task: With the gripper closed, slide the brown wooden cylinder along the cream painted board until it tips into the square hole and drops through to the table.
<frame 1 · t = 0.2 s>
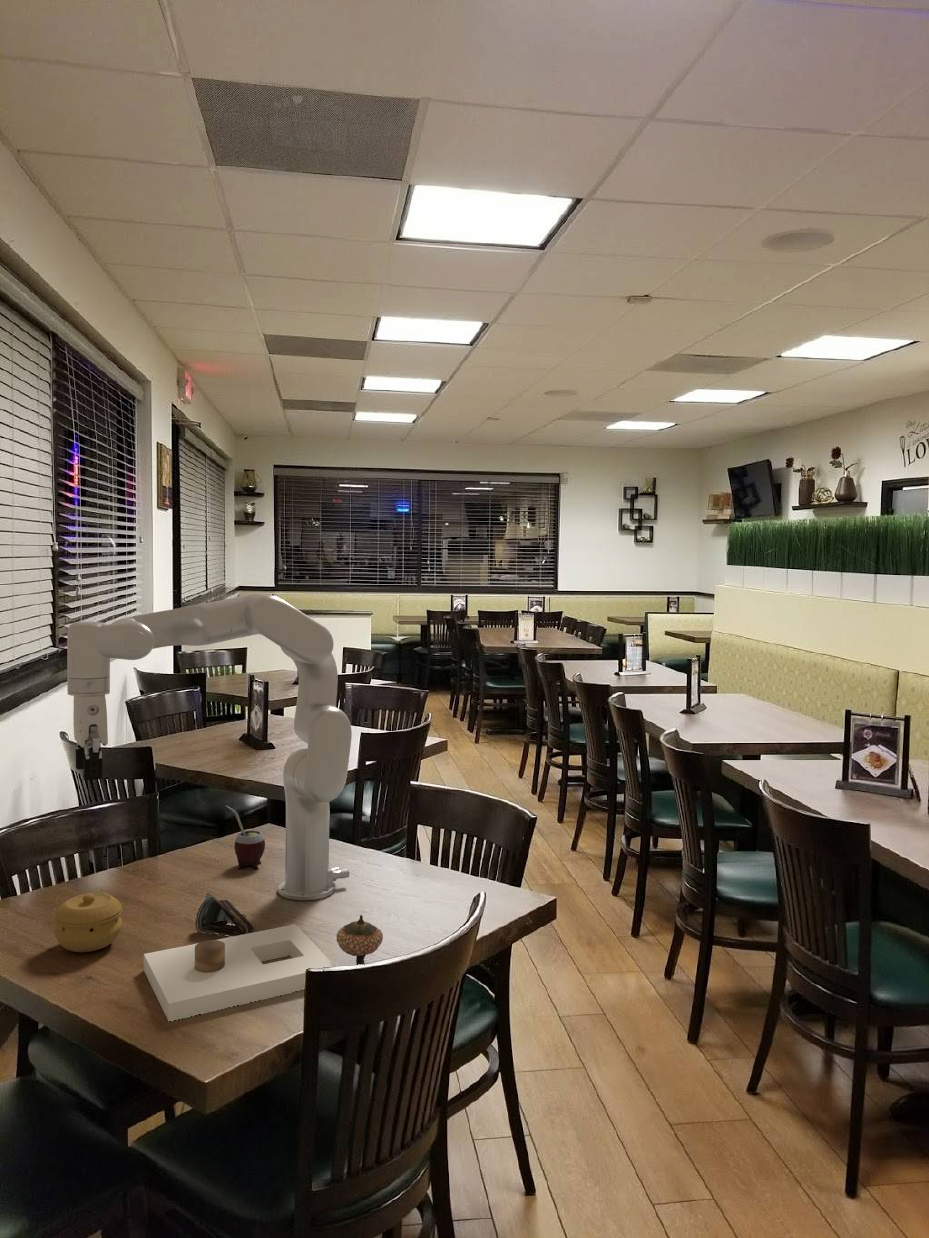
hand: (88, 773, 171), 31 cm above the table, tool pointing down, fingers open, 9 cm apart
pot: (89, 947, 166), on the table
mate gourd: (247, 867, 210), on the table
acorn: (359, 969, 159), on the table
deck: (238, 976, 155), on the table
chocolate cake: (231, 931, 175), on the table
brown wooden cylinder: (209, 965, 152), point 3 cm above the table, touching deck
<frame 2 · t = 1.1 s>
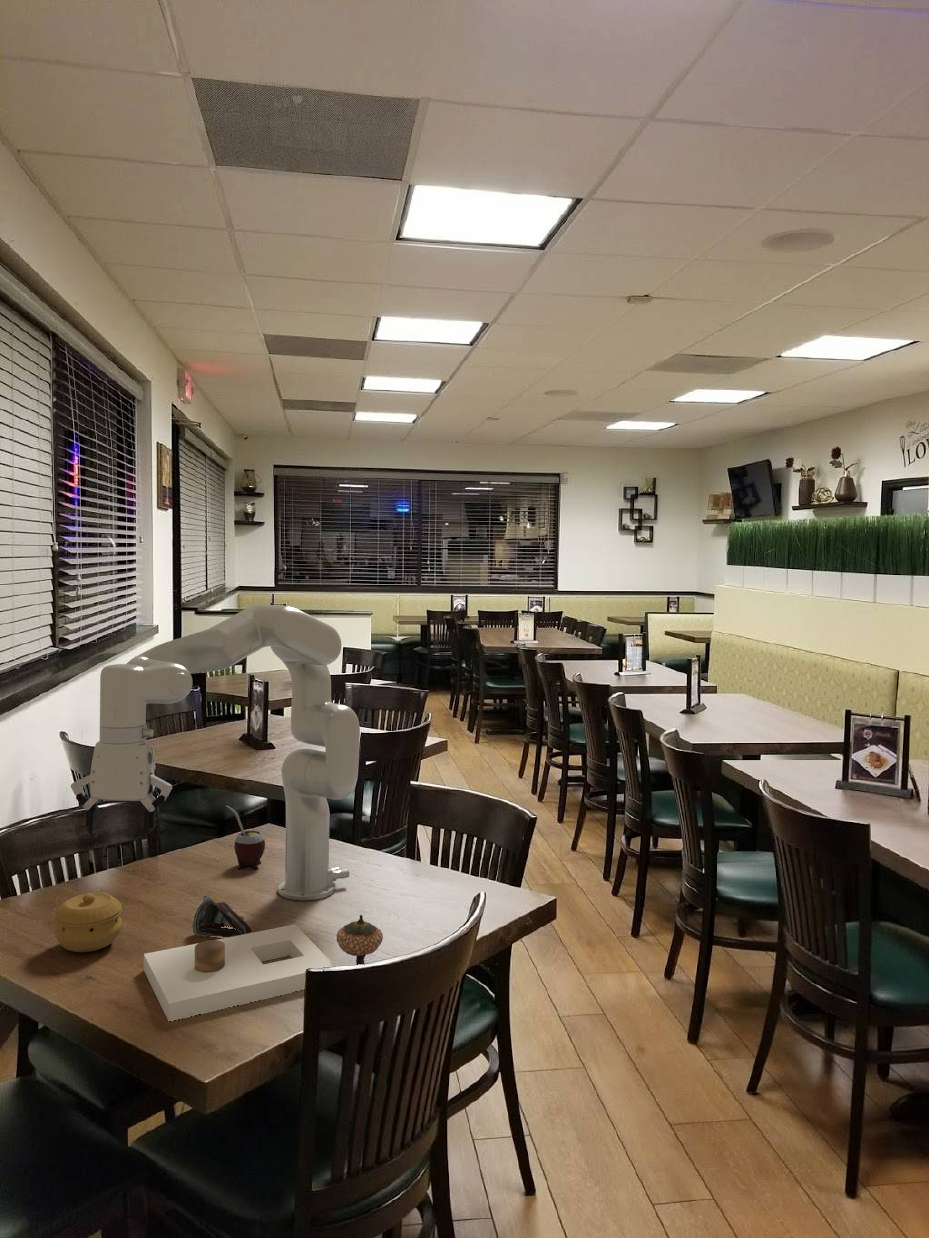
hand: (121, 831, 155), 25 cm above the table, tool pointing down, fingers open, 9 cm apart
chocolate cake: (228, 933, 174), on the table
everything else where it was.
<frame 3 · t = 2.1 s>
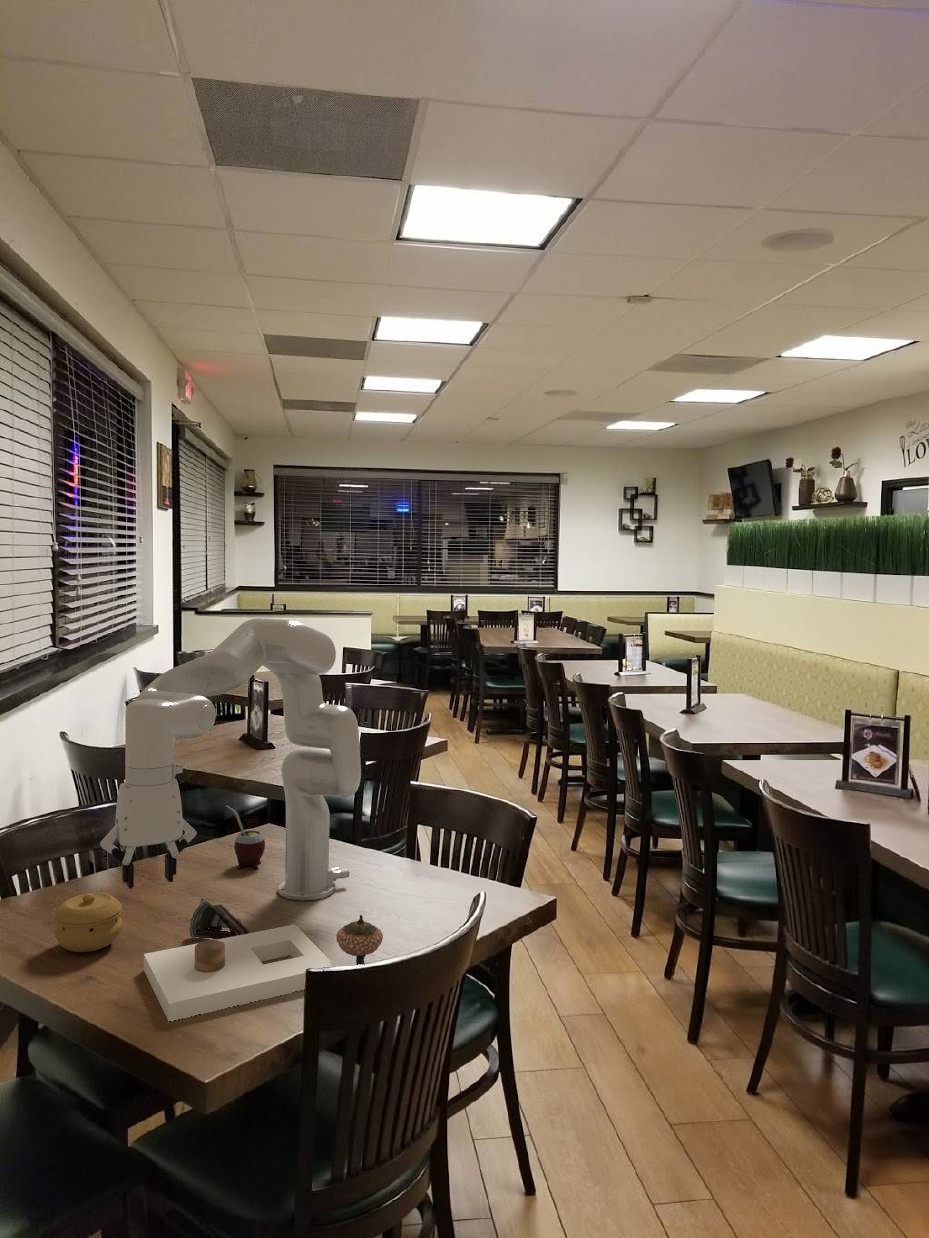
hand: (149, 881, 146), 20 cm above the table, tool pointing down, fingers open, 5 cm apart
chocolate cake: (226, 936, 172), on the table
everything else where it was.
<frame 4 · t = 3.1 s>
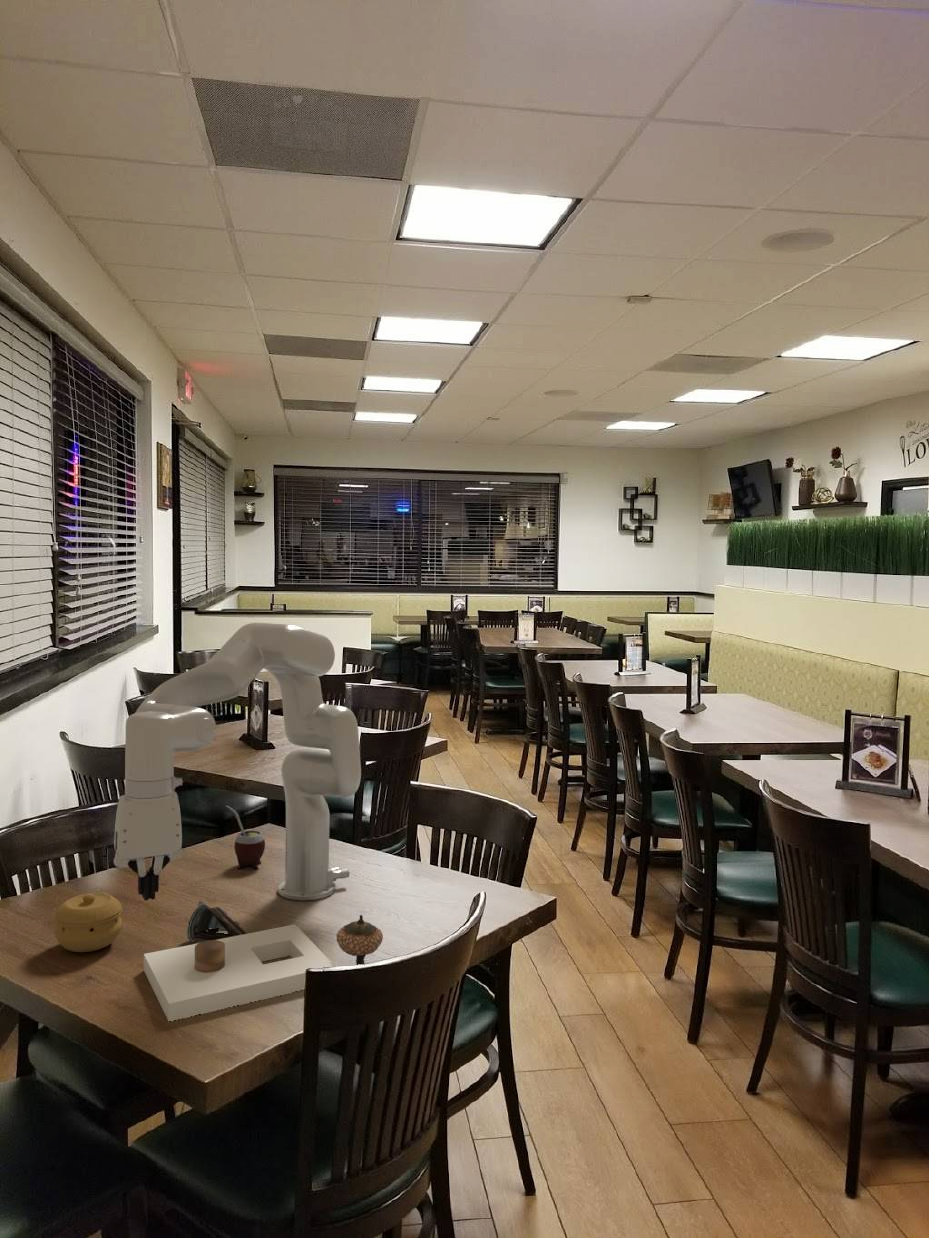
hand: (148, 896, 146), 17 cm above the table, tool pointing down, fingers closed
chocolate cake: (224, 939, 171), on the table
everything else where it was.
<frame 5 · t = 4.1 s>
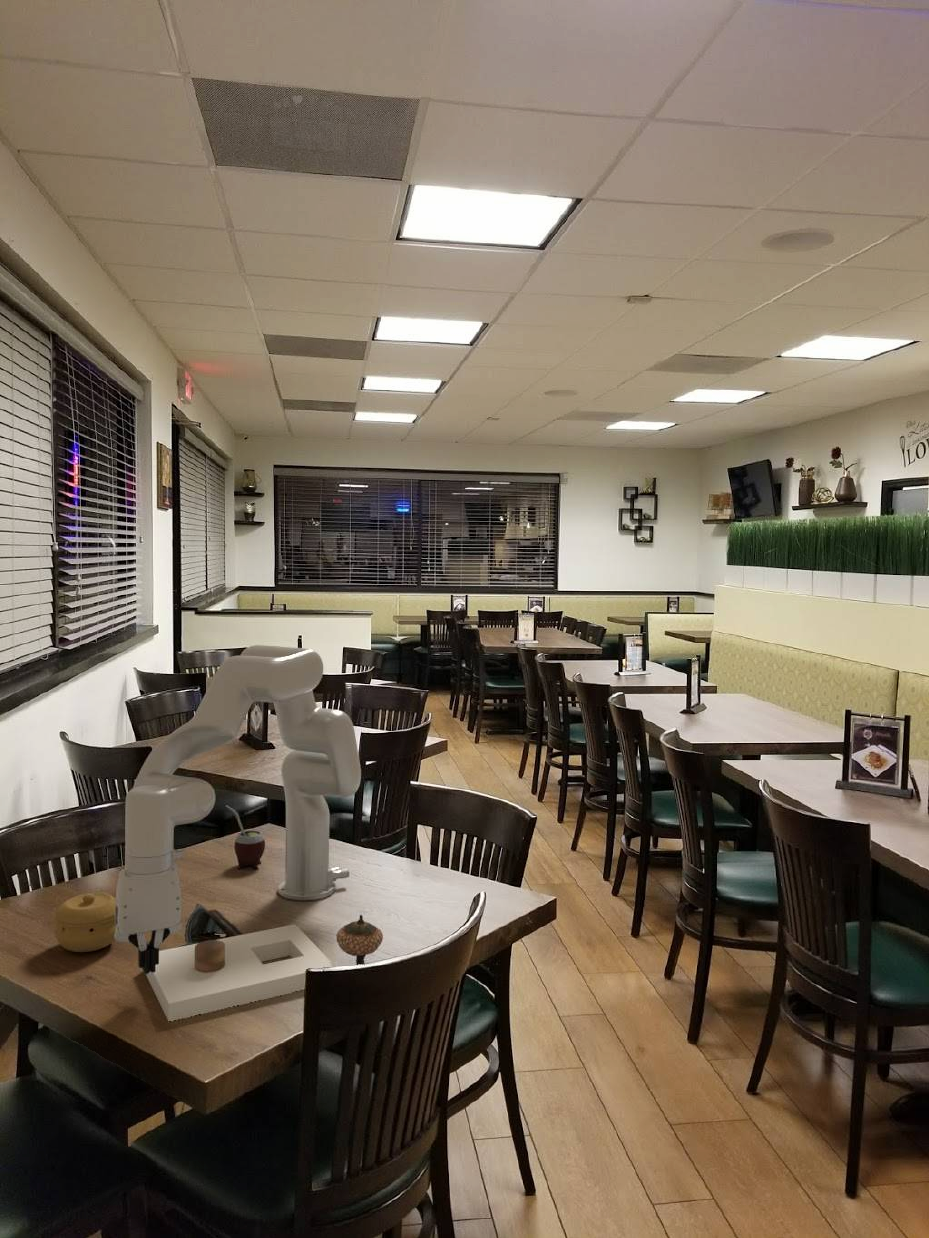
hand: (148, 969, 147), 5 cm above the table, tool pointing down, fingers closed
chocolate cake: (221, 941, 170), on the table
everything else where it was.
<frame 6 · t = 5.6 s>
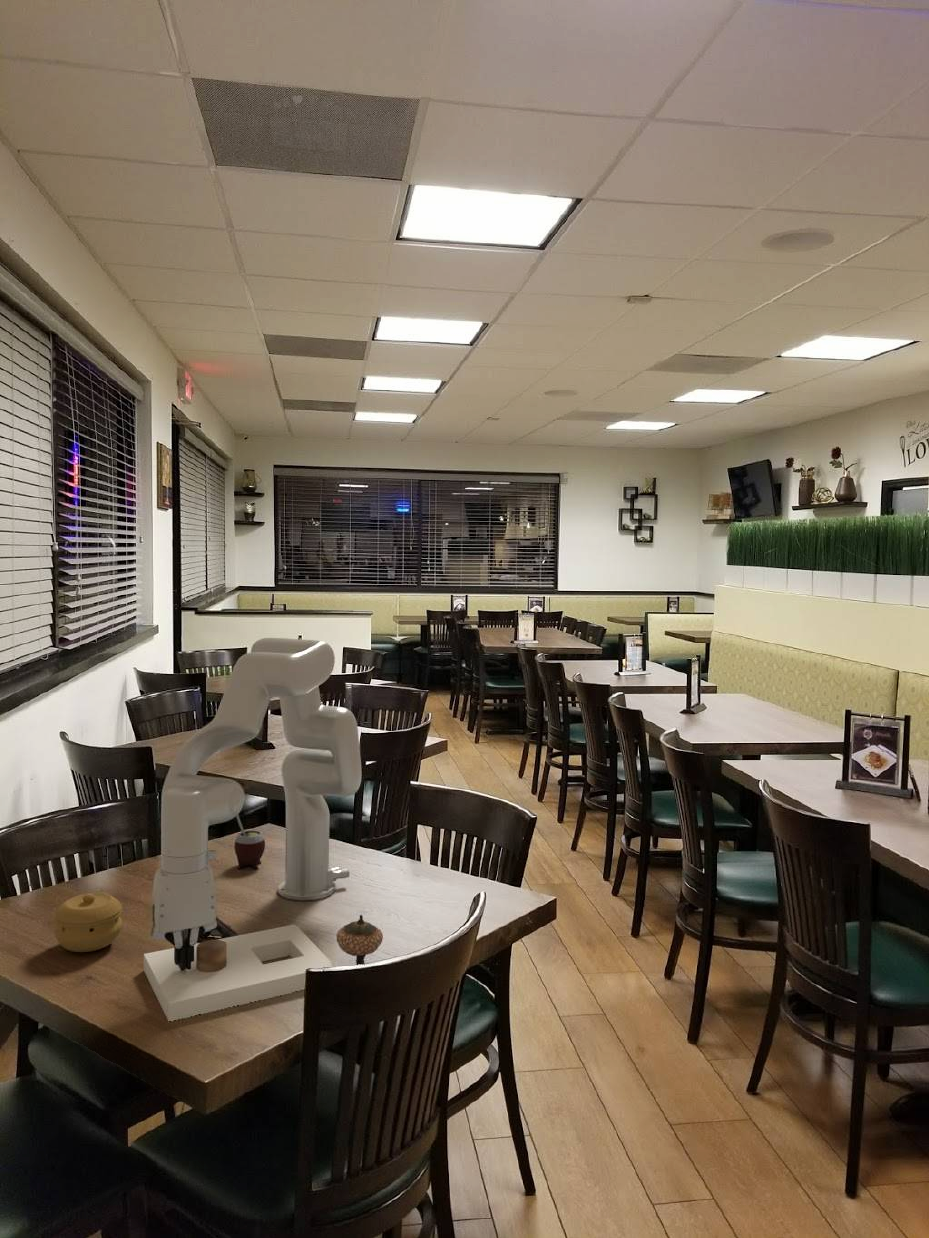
hand: (184, 966, 150), 4 cm above the table, tool pointing down, fingers closed
brown wooden cylinder: (211, 965, 152), point 3 cm above the table, touching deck, gripper
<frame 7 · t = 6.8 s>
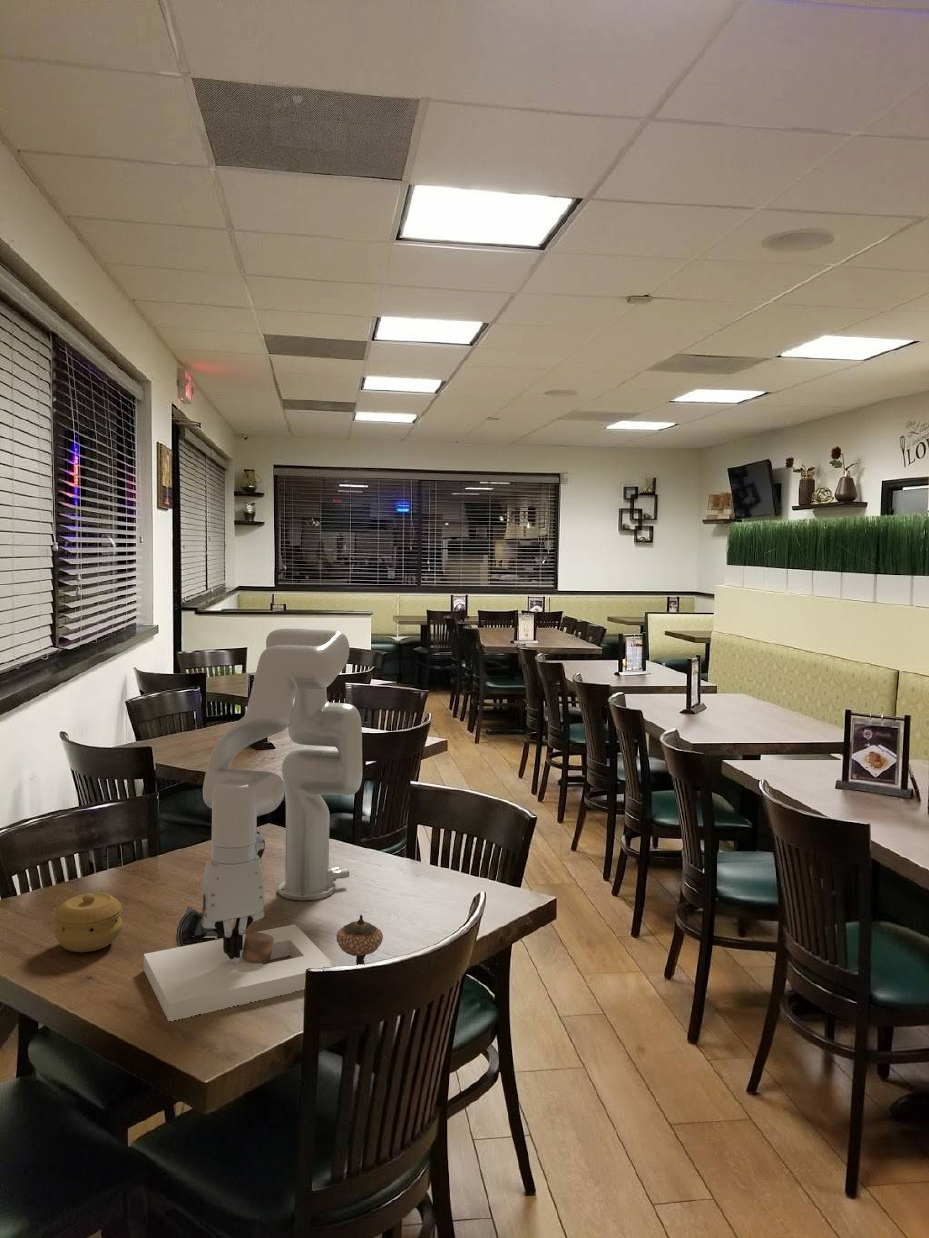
hand: (232, 955, 154), 4 cm above the table, tool pointing down, fingers closed
brown wooden cylinder: (256, 957, 156), point 3 cm above the table, tilted 11°, touching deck
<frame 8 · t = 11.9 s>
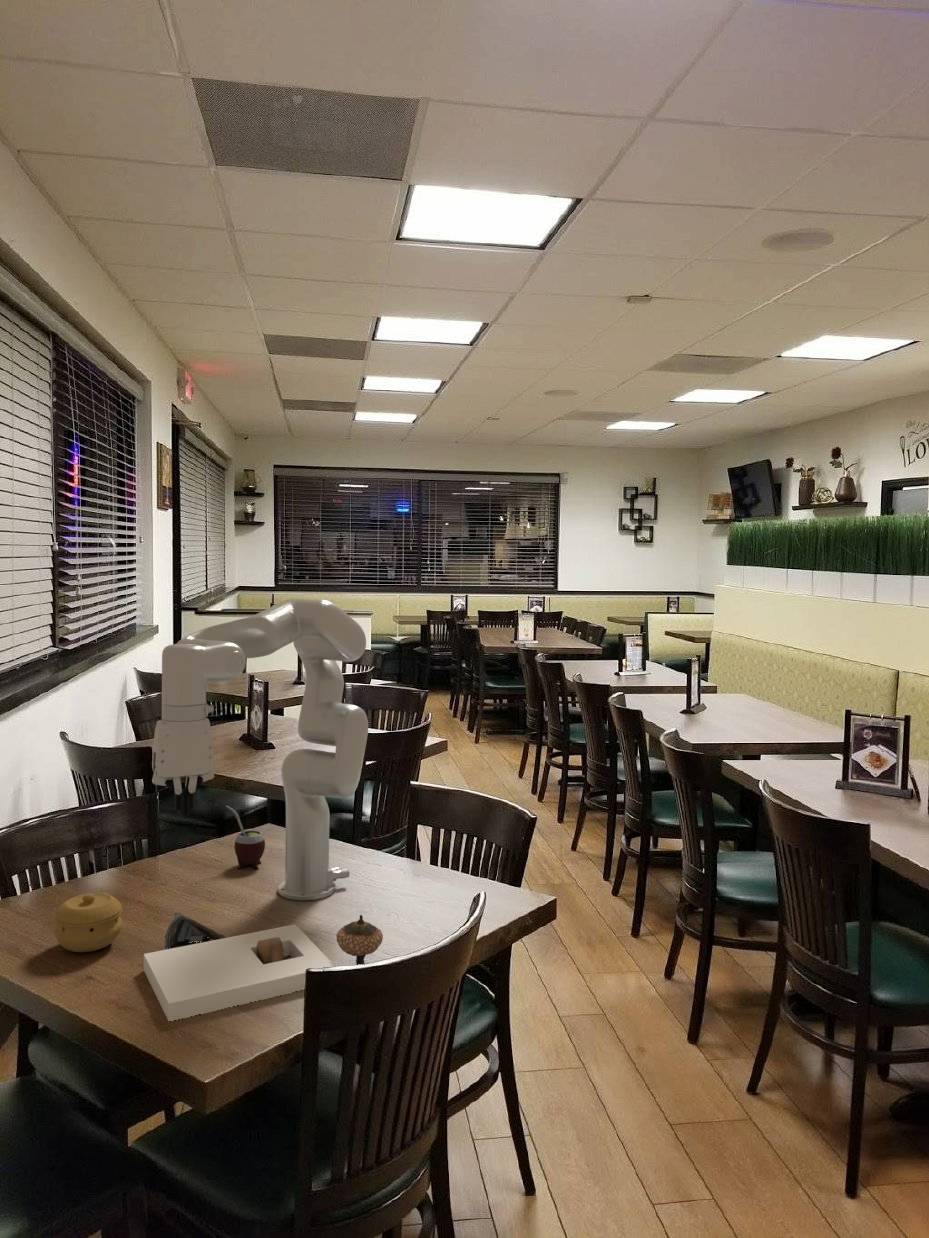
hand: (183, 813, 159), 27 cm above the table, tool pointing down, fingers closed
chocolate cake: (200, 947, 167), on the table, touching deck
brown wooden cylinder: (260, 955, 158), point 2 cm above the table, tilted 90°
everything else where it was.
at the end: brown wooden cylinder 3.0 cm from the target spot on the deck, point 2.5 cm above the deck's base; brown wooden cylinder moved 9.4 cm from its start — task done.
